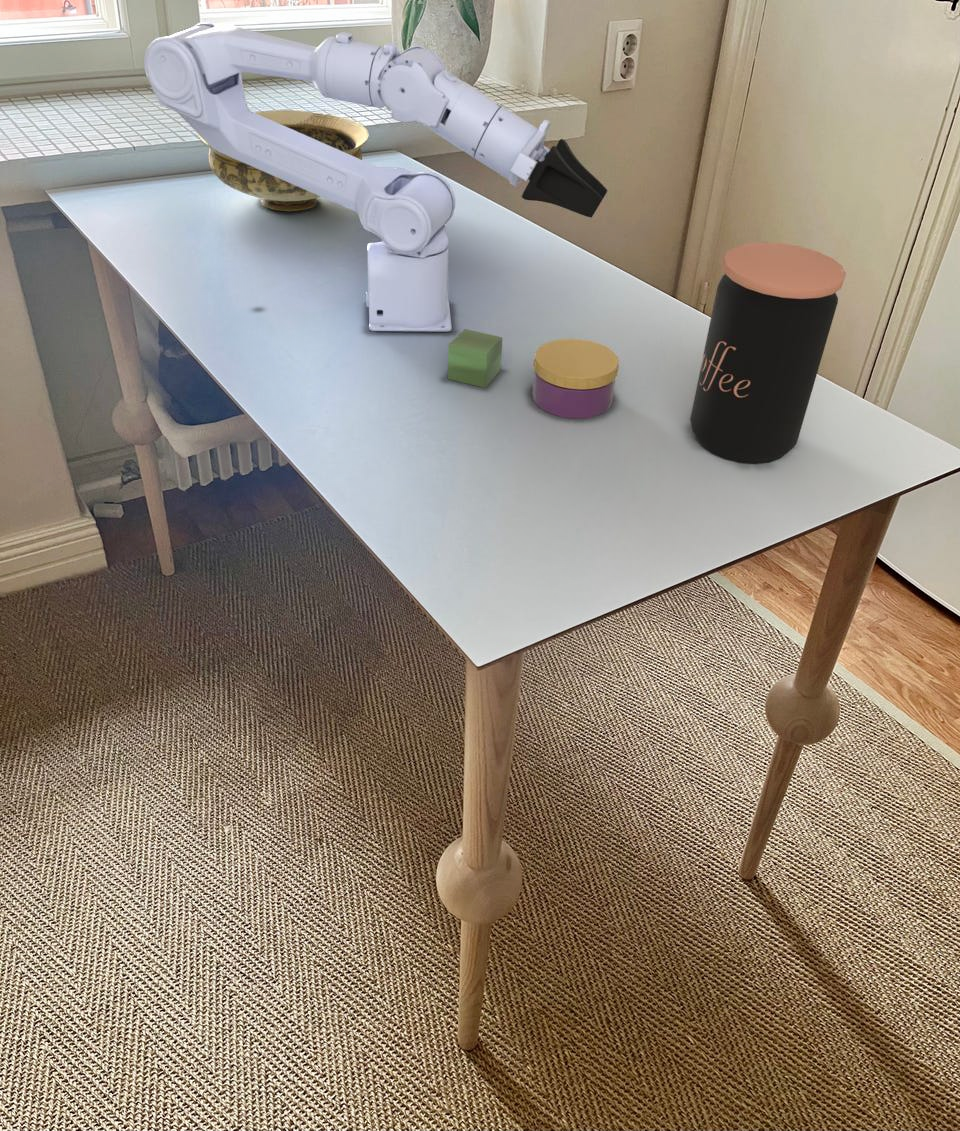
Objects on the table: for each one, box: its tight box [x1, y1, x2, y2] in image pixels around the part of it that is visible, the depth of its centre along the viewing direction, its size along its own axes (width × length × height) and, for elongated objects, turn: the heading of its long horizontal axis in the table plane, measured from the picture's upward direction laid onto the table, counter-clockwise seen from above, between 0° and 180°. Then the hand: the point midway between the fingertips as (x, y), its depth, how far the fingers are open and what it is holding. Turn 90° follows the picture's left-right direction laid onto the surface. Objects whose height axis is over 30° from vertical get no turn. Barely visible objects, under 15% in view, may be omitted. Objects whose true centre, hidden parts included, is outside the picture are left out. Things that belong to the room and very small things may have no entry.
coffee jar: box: [689, 241, 847, 465], centre depth 92 cm, size 11×11×18 cm
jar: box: [531, 370, 616, 420], centre depth 101 cm, size 8×8×4 cm
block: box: [447, 328, 503, 389], centre depth 104 cm, size 4×4×4 cm
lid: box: [532, 338, 620, 389], centre depth 100 cm, size 9×9×1 cm
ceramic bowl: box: [198, 109, 370, 212], centre depth 141 cm, size 30×24×10 cm
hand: (600, 203), depth 102 cm, fingers open, 7 cm apart
